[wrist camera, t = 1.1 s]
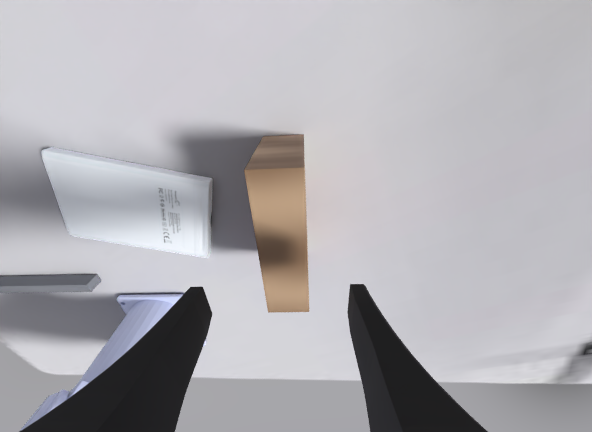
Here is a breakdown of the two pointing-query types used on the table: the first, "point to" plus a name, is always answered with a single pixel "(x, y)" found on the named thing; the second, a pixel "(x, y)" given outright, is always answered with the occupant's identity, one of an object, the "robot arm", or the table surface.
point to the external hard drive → (131, 202)
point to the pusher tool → (280, 220)
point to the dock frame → (49, 283)
